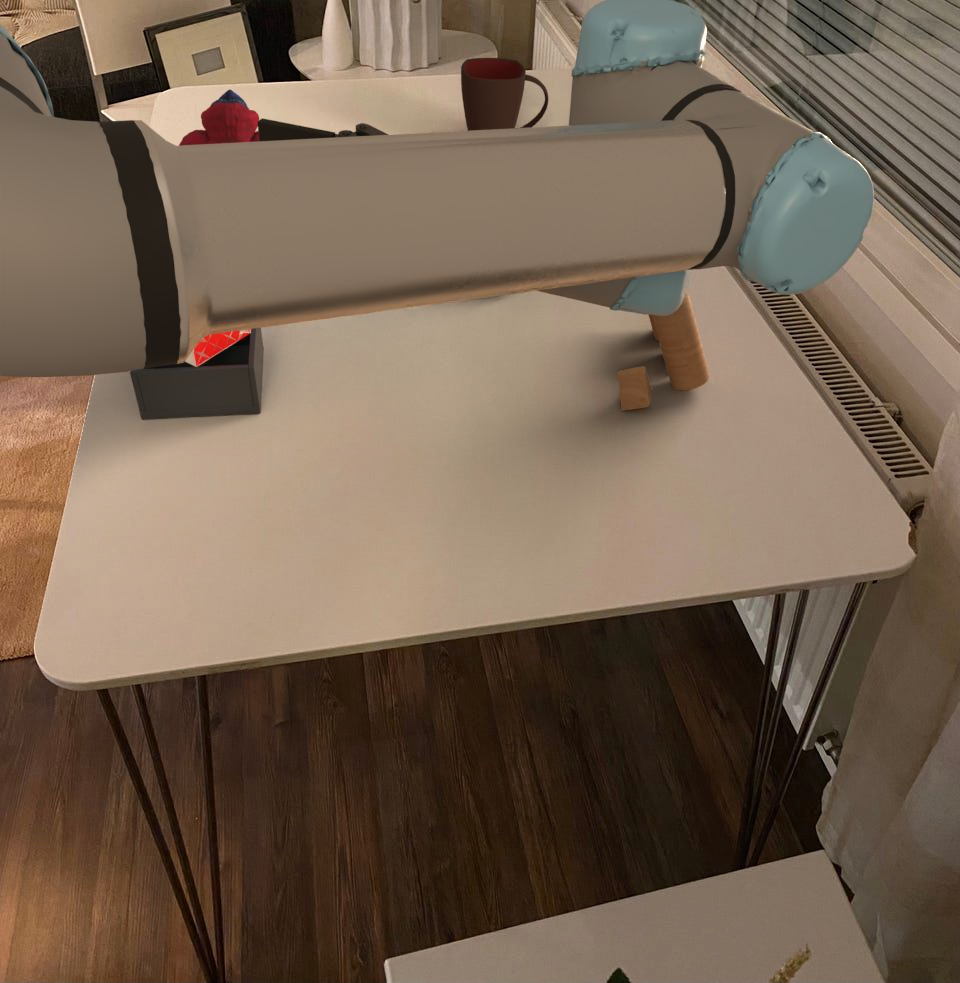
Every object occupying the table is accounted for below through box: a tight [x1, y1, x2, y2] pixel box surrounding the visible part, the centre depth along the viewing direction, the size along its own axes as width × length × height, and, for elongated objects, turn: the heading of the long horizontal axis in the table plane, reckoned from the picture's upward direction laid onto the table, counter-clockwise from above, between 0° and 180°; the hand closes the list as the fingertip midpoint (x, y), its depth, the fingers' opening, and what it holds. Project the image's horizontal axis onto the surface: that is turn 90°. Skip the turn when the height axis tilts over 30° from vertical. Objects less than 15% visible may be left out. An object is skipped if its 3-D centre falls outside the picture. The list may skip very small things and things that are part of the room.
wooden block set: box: [617, 293, 710, 412], centre depth 108 cm, size 18×9×10 cm, turn 165°
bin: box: [129, 328, 265, 421], centre depth 104 cm, size 12×12×6 cm
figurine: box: [178, 89, 260, 146], centre depth 133 cm, size 16×20×18 cm
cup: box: [460, 57, 549, 131], centre depth 152 cm, size 10×14×12 cm
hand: (216, 168), depth 74 cm, fingers open, 13 cm apart
